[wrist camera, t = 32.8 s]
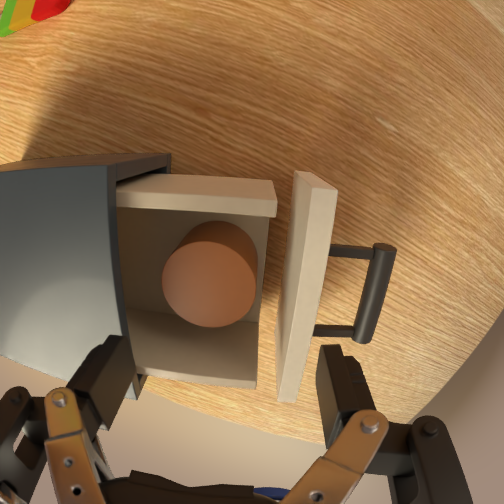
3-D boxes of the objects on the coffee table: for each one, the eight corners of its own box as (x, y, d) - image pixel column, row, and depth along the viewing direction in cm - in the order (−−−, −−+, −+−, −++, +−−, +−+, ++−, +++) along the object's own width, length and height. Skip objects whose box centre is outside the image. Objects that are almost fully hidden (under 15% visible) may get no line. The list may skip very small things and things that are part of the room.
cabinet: (171, 153, 21) (107, 164, 12) (173, 321, 26) (137, 401, 17) (20, 160, 21) (-57, 180, 12) (38, 296, 26) (-17, 347, 17)
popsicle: (69, 12, 16) (57, 7, 14) (-22, 52, 16) (-33, 51, 14) (83, -32, 14) (73, -39, 12) (-12, 12, 14) (-21, 10, 12)
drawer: (377, 181, 20) (431, 204, 13) (344, 335, 25) (367, 401, 17) (111, 162, 20) (46, 176, 13) (122, 314, 25) (82, 371, 17)
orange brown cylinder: (254, 297, 22) (252, 331, 18) (180, 290, 22) (163, 322, 18) (261, 223, 20) (260, 245, 16) (179, 217, 20) (159, 237, 16)
